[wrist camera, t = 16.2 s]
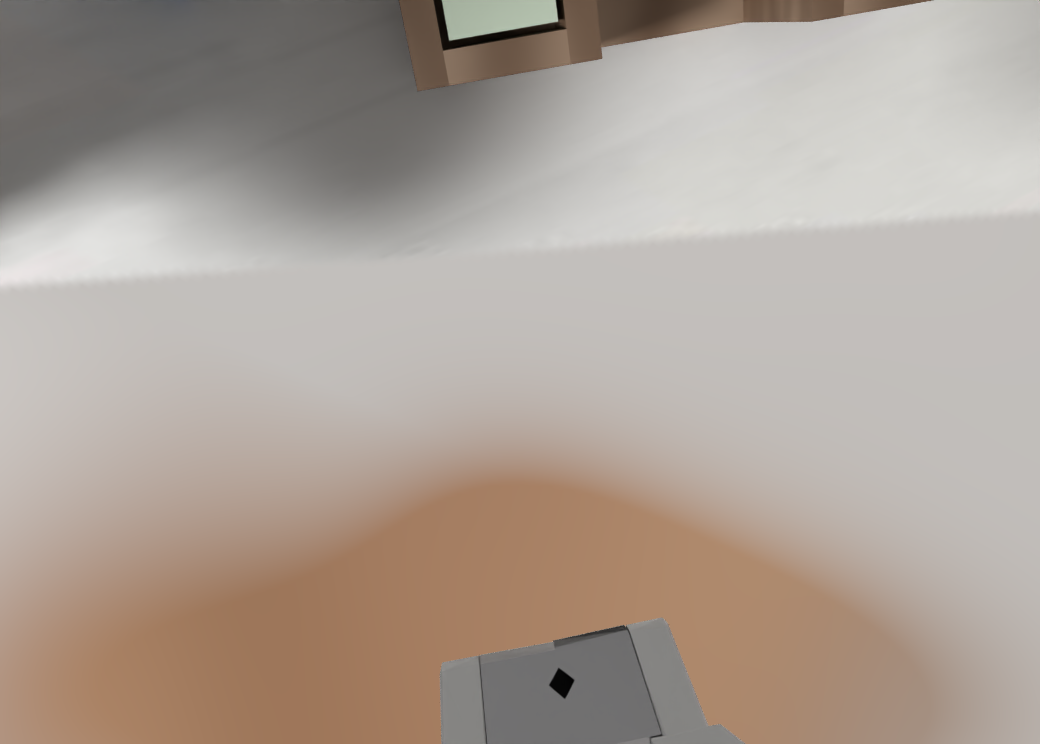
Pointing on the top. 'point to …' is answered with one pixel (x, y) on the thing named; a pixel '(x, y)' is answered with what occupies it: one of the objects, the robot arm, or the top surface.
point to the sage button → (495, 15)
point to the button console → (588, 32)
